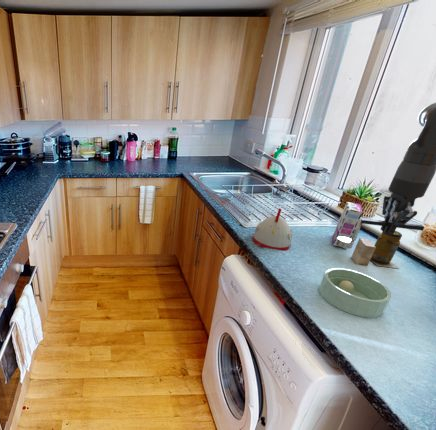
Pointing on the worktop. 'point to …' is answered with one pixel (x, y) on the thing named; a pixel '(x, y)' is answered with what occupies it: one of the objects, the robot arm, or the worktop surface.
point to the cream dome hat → (273, 233)
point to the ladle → (348, 242)
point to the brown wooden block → (363, 252)
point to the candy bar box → (347, 221)
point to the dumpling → (346, 286)
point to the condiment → (386, 249)
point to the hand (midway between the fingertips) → (386, 232)
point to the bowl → (355, 293)
